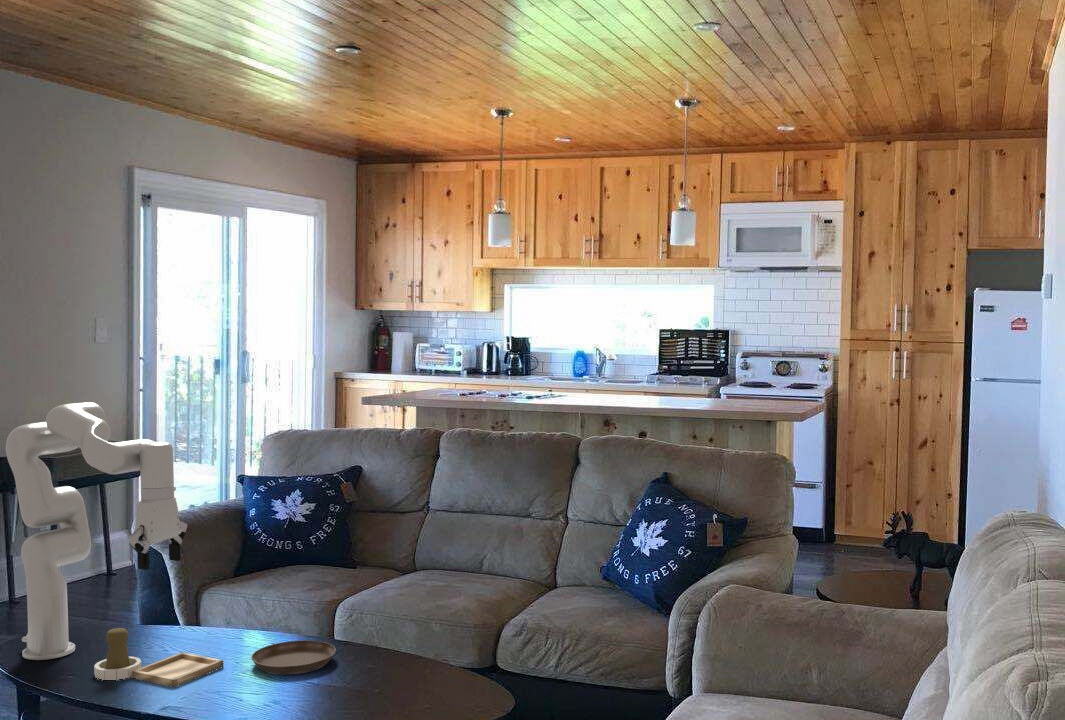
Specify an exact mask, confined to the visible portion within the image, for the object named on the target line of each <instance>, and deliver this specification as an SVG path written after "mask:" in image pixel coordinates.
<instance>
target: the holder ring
mask: <svg viewBox="0 0 1065 720" xmlns="http://www.w3.org/2000/svg"><path fill="white" fill-rule="evenodd" d="M106 661H107V658H105V659H102V660H100V661H98V662H96V663H95V664H94V665H93V672H94V674H93V675H95V676H94V678H95V679H96V678H97V679H96V680H99V679H102V680H101V681H103V680H116V681H120V680H119V679H123V680H126V679H125V678H128V679H130V678H129V677H131V678H132V671H134V670H136V669H139V668H142V667H143V666H142V660H141V658H140V657H136V656H131V655H130V656H129V661H130V666H129V667H125V668H120V669H106ZM98 678H99V679H98Z"/></svg>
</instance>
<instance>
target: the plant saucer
mask: <svg viewBox="0 0 1065 720" xmlns="http://www.w3.org/2000/svg"><path fill="white" fill-rule="evenodd" d="M336 651H337V649H336V647H335V645H333V644H331V643H329V642H325V641H321V640H320V641H319V640H309V639H306V640H291V641H284V642H277V643H273V644H271V645H270V644H269V645H267V646H264V647H262V648H259V649H257V650H256V651H254V652H253V653H252V654H251V660H252V662H253V663H254V664H255V666H256V667H257V668H258V669H259V670H260V671H263V672H264V671H265V672H264V673H267V674H271V673H272V674H271V675H277V674H283V675H282V676H291V675H292V674H294V675H300V674H301V673H302V674H306V673H310V672H314V671H317V670H319V669H321V668H323V667H325V665H327V664H328V663H329V662H330V661H331V660H332V659H333V657H334V655H335V653H336ZM292 676H293V675H292Z"/></svg>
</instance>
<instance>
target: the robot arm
mask: <svg viewBox="0 0 1065 720" xmlns="http://www.w3.org/2000/svg"><path fill="white" fill-rule="evenodd" d="M110 436H111V428H110V425H109V424H108V422H107V416H106V413H105V411H104V409H103V408H102V407H101V405H99V404H97V403H95V402H90V401H89V402H88V401H85V402H76V403H65V404H60V405H58V406H55V407H53V408H52V409H50V411H49V412H48V413H47V415H46V418H45V421H41V422H31V423H26V424H22V425H20V426H19V425H18V426H17V427H15V428H13V430H11V431H10V432H9V434H8V436H7V438H6V442H5V455H6V458H7V462H8V464H9V467H10V469H11V471H12V474H13V476H14V477H13V478H14V481H15V488H16V493H17V499H18V504H19V510H20V516H21V519H22V521H23V524H24V525H25V526H27V527H29V528H34V529H37V528H44V527H48V526H53V525H58V524H59V527H60V528H58V529H52V530H51V529H50V530H47V531H44V532H43V531H42V532H38V533H35V534H33V535H31V536H29V537H28V538H26V539H25V541H23V543H22V545H21V548H20V549H21V550H20V554H21V560H22V564H23V568H24V574H25V581H26V582H25V583H26V602H27V604H26V605H27V606H26V607H27V608H26V610H27V633H26V636H23V637H22V638H21V641H22V642H24V643H26V647H25V648H24V649H22V652H21V653H22V654H21V655H22V658H23V659H26V660H29V661H30V660H31V661H34V660H35V661H43V660H44V661H46V660H53V659H57V658H63V657H65V656H68V655H71V654H72V653H74V652H75V650H76V644H75V643H73V642H71V641H69V639H70V638H69V637H70V636H69V611H68V610H69V609H68V607H69V605H68V584H67V580H66V578H65V576H64V575H63V574H62V573H61V571H60V569H59V567H62V566H66V565H71V564H74V563H78V562H80V561H83V560H84V559H86V558H87V557H88V556H89V555H90V553H91V548H92V538H91V532H90V527H89V521H88V515H87V511H86V505H85V501H84V498H83V495H82V494H81V493H80V492H79V490H77V489H76V488H75V487H74V486H73V487H72V486H69V485H63V486H57V487H54V484H53V481H52V474H51V471H50V469H49V467H48V466H47V465H46V463H45V462H44V461H43V460H41V459H40V458H39V457H40V456H43V455H44V456H46V455H54V454H60V453H66V452H68V453H69V452H71V451H75V450H76V449H78V448H79V449H80V450H81V454H82V456H83V458H84V460H85V462H86V463H87V464H88V465H89V466H90V467H92V468H94V469H96V470H98V471H100V472H103V473H105V474H108V475H119V474H125V473H126V474H127V473H130V472H131V473H132V472H139V471H140V474H139V475H140V501H138V504H137V508H136V514H135V530H134V531H133V532H132V533H131V534H129V536H128V541H129V543H130V545H131V548H132V549H133V550H134V552H135V553H136V554H137V569H138V570H145V571H147V570H150V553H149V552H148V550H149V549H150V547H151V546H152V545H151V544H157V543H161V542H165V541H169V542H170V543H168V558H169V561H173V562H180V561H181V558H182V557H181V544H182V543H183V539H184V538H185V536H186V532H187V531H186V530H187V528H188V523H186V522H184V521H181V520H180V516H179V509H178V502H177V499H176V497H175V491H176V490H177V487H176V486H175V482H174V481H175V474H174V448H173V445H172V444H171V443H170V442H166V441H154V440H152V439H147V438H140V439H133V440H131V439H130V440H124V441H117V442H109V440H110Z"/></svg>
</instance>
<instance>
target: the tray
mask: <svg viewBox="0 0 1065 720" xmlns="http://www.w3.org/2000/svg"><path fill="white" fill-rule="evenodd" d="M221 667H223V668H224V660H223V659H219V658H215V657H214V658H213V657H208V656H204V655H198V654H193V653H188V652H183V651H182V652H179V653H176V654H173V655H171V656H169V657H166V658H163V659H159V660H158V661H155V662H153V663H150V664H147V665H144V666H142V668H139V669H136V670H134V671H132V677H131V678H132V679H133V678H136V679H135V680H137V679H140V680H139V681H142V680H145V681H144V682H147V681H149V682H148V683H151V682H153V683H152V684H156V683H158V684H157V685H160V684H162V685H161V686H165V685H167V686H166V687H170V686H172V687H171V688H174V687H175V688H176V686H177V687H179V686H181V684H182V685H184V684H186V683H185V682H187V683H188V681H189V682H191V681H190V680H192V681H193V679H194V680H196V679H199V678H201V677H203V675H204V676H205V674H206V675H208V674H207V673H209V672H211V673H213V672H215V671H214V670H216V669H218V670H220V669H219V668H221ZM221 669H222V668H221ZM212 671H213V672H212ZM216 671H217V670H216ZM209 674H210V673H209ZM200 676H201V677H200ZM198 677H199V678H198ZM195 678H196V679H195ZM183 683H184V684H183ZM178 685H179V686H178Z"/></svg>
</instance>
